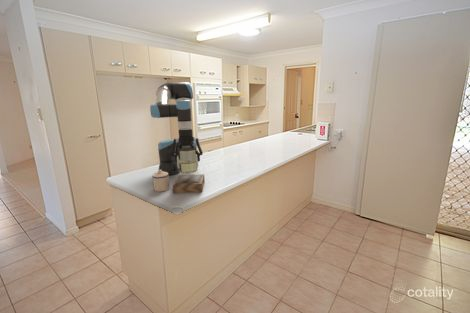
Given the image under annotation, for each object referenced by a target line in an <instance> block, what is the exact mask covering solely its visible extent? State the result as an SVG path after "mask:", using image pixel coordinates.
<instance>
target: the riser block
mask: <svg viewBox="0 0 470 313" xmlns="http://www.w3.org/2000/svg"><path fill="white" fill-rule="evenodd" d="M204 185H205V173H202V174H199V173H198V174H177V176H176V178H175V180H174V182H173V183H172V191H173V192H172V193H173V194H185V193H186V194H187V193H190V194H191V193H202V192H203V190H204Z"/></svg>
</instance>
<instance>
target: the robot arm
mask: <svg viewBox="0 0 470 313" xmlns="http://www.w3.org/2000/svg"><path fill="white" fill-rule="evenodd" d="M155 94H156V100H155V104H151V105H150V106H149V108H150V109H149V111H150V116H151V118H153V119H154V118H155V119H156V118H157V119H161V118H162V119H163V118H177V128H178V138H176V137H175V138H170V139H169V138H168V139H165V140H161V141H159V142H158V144H157V145H158V148H157V149H158V160H159V166H158V170H162V171H164V172H167V173H168V174H169V175H168V176H174V175H179V173H180V168H179V157H178V149H177V148H178V147H179V148H182V146H191V147H192V148H194V147H195V146H196V149H195V152H196V164H197V169H198V168H199V162H200V161H201V156H203V150H202V147H201V144H200V141H199V140H200V139H199V137H195V136H194V135H193V121H192V108H191V107H192V106H191V103H192V100H193V99H194V93H193V86H192V83H190V82H178V81H177V82H172V81H171V82H166V83H163V84H162V85H160V86H158V88H157V90H156V92H155ZM170 100H174V101H175V103H169V101H170ZM158 170H157V171H158Z"/></svg>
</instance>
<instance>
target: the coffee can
mask: <svg viewBox="0 0 470 313" xmlns="http://www.w3.org/2000/svg"><path fill="white" fill-rule="evenodd" d="M177 149H178V157H179V168H180V172H179V173H180V174H182V175H190V174H194V173H196V172H198V168H197V164H196V156H197V155H196V152H195V149H196V146H195V147H194V148H192V147H191V146H182V148H179V147H178V148H177Z"/></svg>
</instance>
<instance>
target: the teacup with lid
mask: <svg viewBox="0 0 470 313" xmlns="http://www.w3.org/2000/svg"><path fill="white" fill-rule="evenodd" d="M151 177H152V181H153V190H154V191H155V192H156V193H157V192H159V193H160V192H166V191H168V190H169V189H170V188H171V186H170V179H169V178H170V175H169V174H168V173H167V172H164V171H162V170H157V171H156V172H155V173H153V174H152V176H151Z"/></svg>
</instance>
